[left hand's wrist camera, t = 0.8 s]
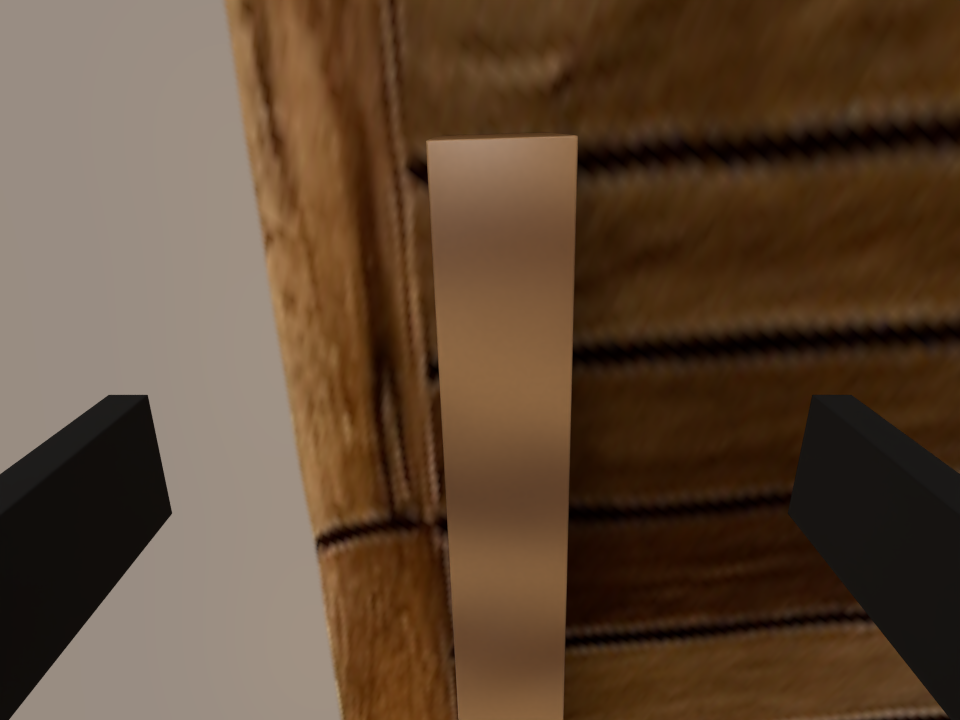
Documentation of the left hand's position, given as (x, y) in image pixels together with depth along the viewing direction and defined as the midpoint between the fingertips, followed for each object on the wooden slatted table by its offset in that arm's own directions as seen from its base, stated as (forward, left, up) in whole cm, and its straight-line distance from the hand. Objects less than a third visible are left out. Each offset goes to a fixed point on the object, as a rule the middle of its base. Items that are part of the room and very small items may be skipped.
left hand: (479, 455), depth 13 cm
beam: (+2, +23, -16) cm, 28 cm away
